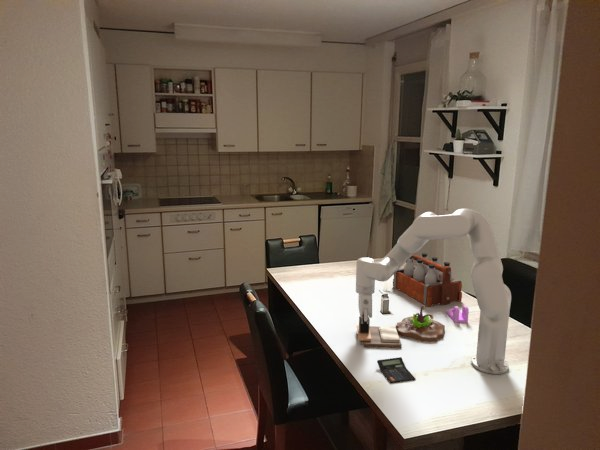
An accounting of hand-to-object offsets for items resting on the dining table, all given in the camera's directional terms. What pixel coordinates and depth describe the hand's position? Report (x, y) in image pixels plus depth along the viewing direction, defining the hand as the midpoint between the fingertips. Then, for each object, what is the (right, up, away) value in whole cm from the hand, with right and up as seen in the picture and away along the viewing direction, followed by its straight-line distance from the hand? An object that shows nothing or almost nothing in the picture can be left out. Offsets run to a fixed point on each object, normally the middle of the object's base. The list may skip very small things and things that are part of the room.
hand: (363, 330), depth 189 cm
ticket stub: (0, -2, 0) cm, 2 cm away
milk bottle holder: (+39, +7, +50) cm, 64 cm away
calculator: (+8, -10, -26) cm, 29 cm away
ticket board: (+7, -3, 0) cm, 8 cm away
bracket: (+45, +1, +22) cm, 50 cm away
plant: (+25, -2, +8) cm, 27 cm away
